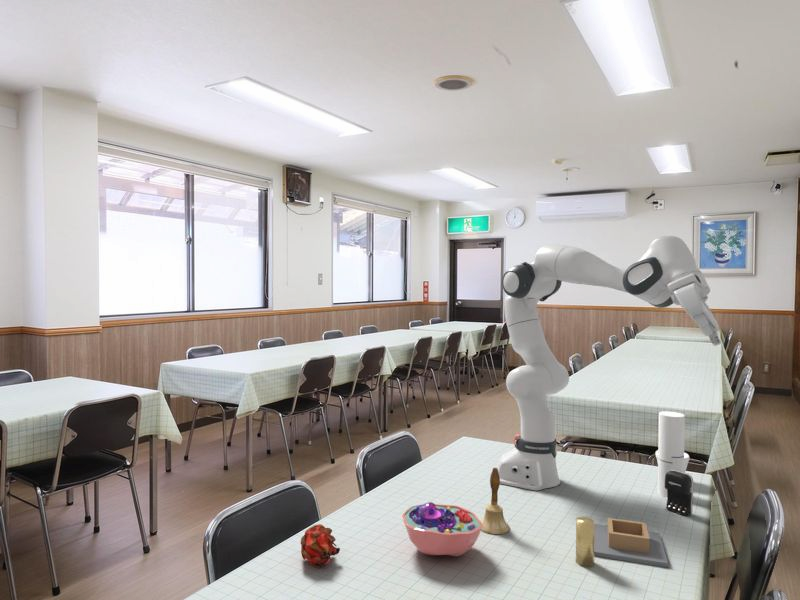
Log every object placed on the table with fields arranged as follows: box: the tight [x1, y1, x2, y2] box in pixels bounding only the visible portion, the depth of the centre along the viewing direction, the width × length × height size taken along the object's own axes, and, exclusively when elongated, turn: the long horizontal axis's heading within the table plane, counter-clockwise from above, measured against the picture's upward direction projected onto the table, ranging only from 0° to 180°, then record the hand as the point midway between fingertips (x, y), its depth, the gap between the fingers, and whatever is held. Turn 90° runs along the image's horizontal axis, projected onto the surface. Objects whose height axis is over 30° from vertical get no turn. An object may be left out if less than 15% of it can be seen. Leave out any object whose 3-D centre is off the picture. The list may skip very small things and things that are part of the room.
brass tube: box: [575, 516, 595, 568], centre depth 124 cm, size 4×4×10 cm
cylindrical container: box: [657, 410, 686, 498], centre depth 164 cm, size 7×7×25 cm
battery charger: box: [665, 470, 694, 517], centre depth 151 cm, size 7×4×11 cm, turn 33°
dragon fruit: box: [300, 523, 341, 569], centre depth 124 cm, size 8×8×12 cm
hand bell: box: [480, 467, 511, 535], centre depth 141 cm, size 8×8×16 cm
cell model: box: [401, 501, 482, 557], centre depth 129 cm, size 17×20×11 cm
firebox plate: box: [594, 517, 669, 568], centre depth 132 cm, size 16×16×4 cm
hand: (713, 339), depth 127 cm, fingers open, 8 cm apart
